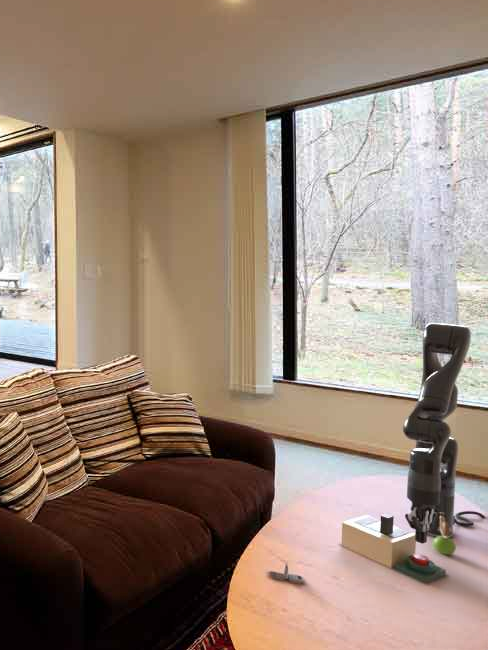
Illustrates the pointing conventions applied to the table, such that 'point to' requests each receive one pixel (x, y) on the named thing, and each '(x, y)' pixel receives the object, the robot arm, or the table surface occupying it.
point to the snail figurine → (444, 539)
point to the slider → (386, 524)
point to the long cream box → (377, 541)
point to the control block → (420, 570)
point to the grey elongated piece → (290, 576)
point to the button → (420, 559)
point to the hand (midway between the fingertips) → (420, 541)
